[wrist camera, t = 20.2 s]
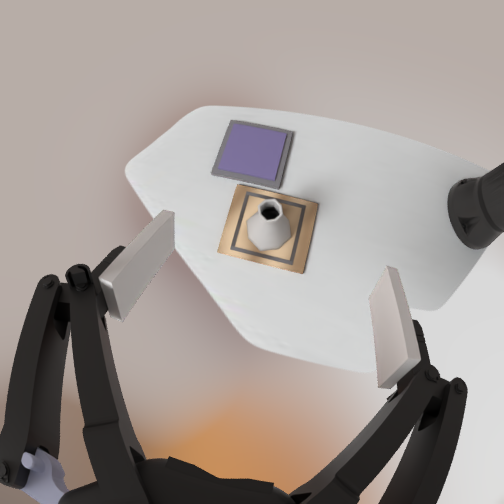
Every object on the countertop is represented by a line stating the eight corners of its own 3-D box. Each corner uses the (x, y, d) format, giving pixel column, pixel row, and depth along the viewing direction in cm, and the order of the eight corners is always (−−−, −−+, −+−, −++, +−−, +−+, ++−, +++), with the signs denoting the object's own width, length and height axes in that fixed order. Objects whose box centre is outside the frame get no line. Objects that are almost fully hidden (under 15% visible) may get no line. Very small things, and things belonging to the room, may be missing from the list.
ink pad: (292, 134, 47) (292, 130, 46) (278, 189, 46) (278, 186, 44) (231, 122, 48) (230, 118, 47) (211, 175, 47) (210, 172, 45)
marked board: (317, 204, 45) (318, 203, 44) (302, 274, 43) (302, 273, 42) (237, 185, 46) (237, 184, 45) (217, 252, 44) (217, 251, 44)
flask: (239, 218, 44) (232, 196, 35) (279, 201, 45) (283, 175, 35) (257, 258, 43) (255, 247, 33) (298, 240, 43) (308, 224, 34)
